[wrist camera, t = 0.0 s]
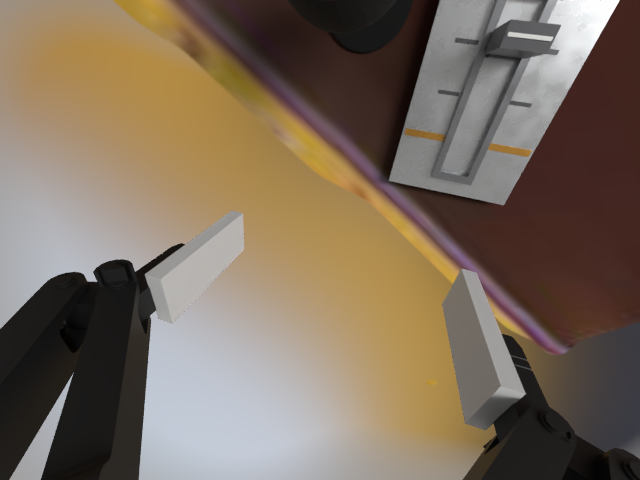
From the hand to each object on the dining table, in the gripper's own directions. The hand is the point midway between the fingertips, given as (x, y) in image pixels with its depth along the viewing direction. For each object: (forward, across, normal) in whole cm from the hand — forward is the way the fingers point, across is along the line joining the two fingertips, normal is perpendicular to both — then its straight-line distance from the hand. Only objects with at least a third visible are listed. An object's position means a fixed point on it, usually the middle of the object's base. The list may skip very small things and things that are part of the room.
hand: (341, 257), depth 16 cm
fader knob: (+26, +11, +14) cm, 31 cm away
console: (+28, +11, +9) cm, 31 cm away
